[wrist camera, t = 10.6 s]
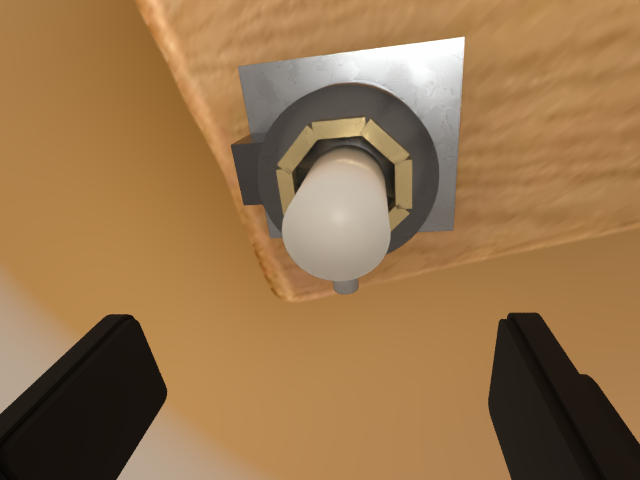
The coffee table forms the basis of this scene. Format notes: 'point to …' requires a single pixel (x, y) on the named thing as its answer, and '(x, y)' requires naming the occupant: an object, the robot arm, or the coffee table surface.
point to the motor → (357, 128)
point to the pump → (339, 218)
